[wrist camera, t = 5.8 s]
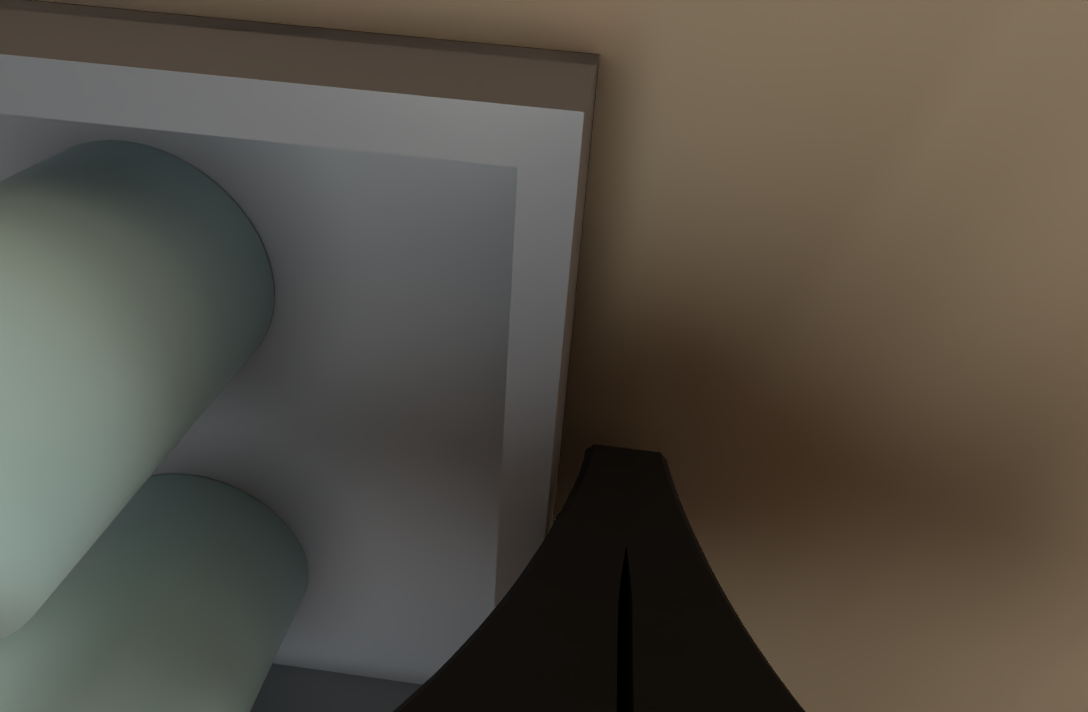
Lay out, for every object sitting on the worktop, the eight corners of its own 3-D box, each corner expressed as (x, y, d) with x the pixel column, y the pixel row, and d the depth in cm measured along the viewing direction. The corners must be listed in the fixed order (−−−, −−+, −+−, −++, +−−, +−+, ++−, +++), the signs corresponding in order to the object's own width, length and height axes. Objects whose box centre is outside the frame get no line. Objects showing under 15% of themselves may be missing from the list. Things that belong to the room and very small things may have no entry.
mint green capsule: (284, 393, 12) (86, 672, 8) (53, 363, 13) (-257, 619, 8) (259, 156, 11) (-16, 357, 6) (-10, 125, 11) (-449, 298, 7)
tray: (536, 693, 16) (517, 825, 14) (-49, 610, 17) (-152, 723, 15) (599, 54, 10) (584, 111, 8) (-328, -34, 11) (-581, -5, 9)
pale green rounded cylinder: (316, 638, 15) (188, 942, 11) (127, 613, 16) (-70, 902, 11) (297, 488, 13) (134, 785, 9) (82, 461, 14) (-175, 741, 9)
